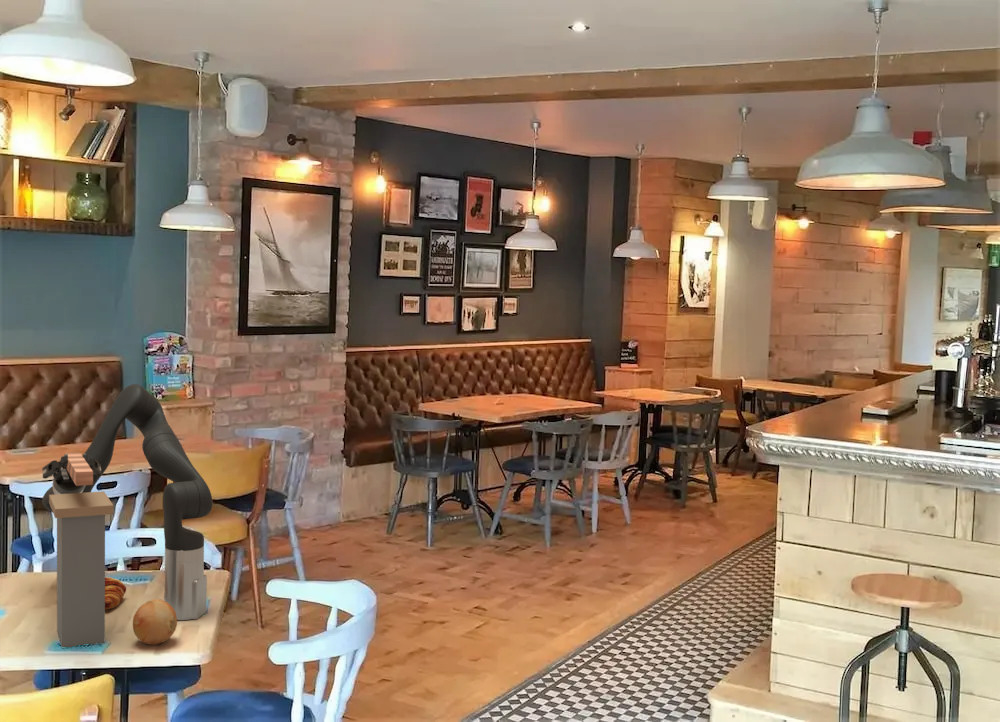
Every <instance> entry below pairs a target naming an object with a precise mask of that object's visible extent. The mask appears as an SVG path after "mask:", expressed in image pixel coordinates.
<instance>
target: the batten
mask: <svg viewBox="0 0 1000 722" xmlns="http://www.w3.org/2000/svg"><path fill="white" fill-rule="evenodd" d="M65 454H68V464H67V468H66V469H67V471H68V472H69V474H70V476H71V478H72V480H73V481H74V483H75V485H76V486H81V485H93V471H92V469H91V468H90V466H89V465H88V463H87V462H86V460H85V459H84V458H83V457H82V455H83V454H82V453H81V452H65V453H64V455H65Z"/></svg>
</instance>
